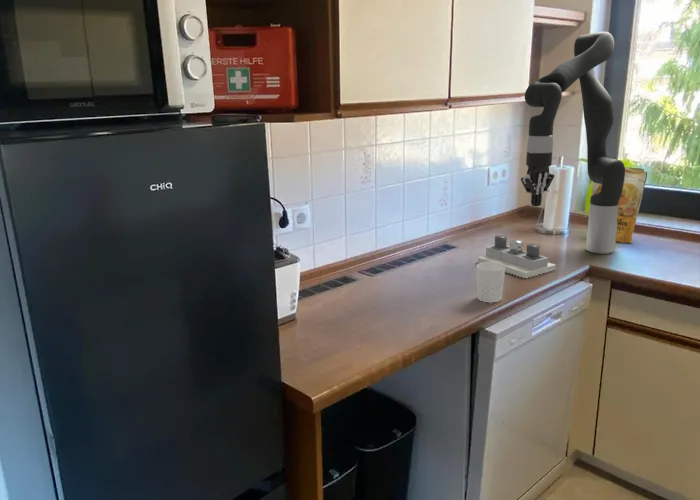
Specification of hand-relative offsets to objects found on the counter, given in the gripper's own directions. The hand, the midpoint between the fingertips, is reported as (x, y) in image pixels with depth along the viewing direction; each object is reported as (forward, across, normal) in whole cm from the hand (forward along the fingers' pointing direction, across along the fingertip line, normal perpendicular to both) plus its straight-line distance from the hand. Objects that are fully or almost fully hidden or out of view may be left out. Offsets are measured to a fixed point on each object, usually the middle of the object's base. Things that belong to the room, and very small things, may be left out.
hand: (535, 205), depth 181 cm
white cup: (+22, +29, +10) cm, 38 cm away
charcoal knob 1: (+17, 0, -14) cm, 22 cm away
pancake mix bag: (+22, -55, -9) cm, 60 cm away
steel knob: (+17, 0, -7) cm, 18 cm away
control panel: (+22, 0, -7) cm, 23 cm away
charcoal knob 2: (+17, 0, 0) cm, 17 cm away
